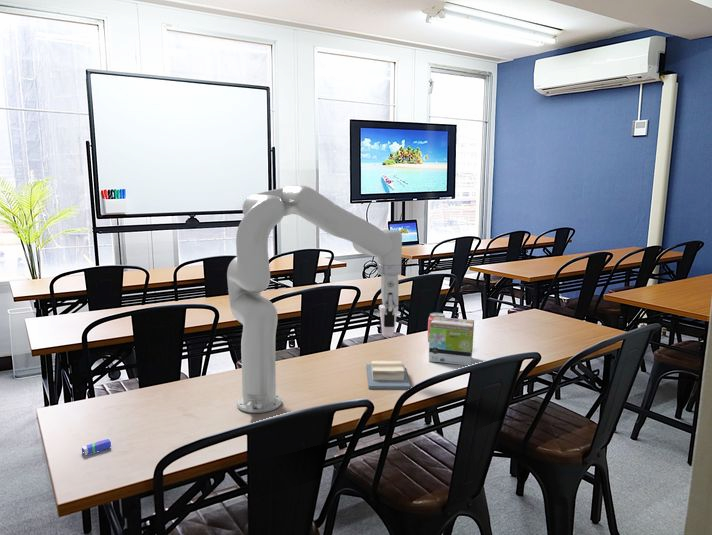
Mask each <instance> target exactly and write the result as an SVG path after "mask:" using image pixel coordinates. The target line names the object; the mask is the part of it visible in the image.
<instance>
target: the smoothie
mask: <svg viewBox="0 0 712 535" xmlns="http://www.w3.org/2000/svg"><path fill="white" fill-rule="evenodd" d="M386 305H388V304H386ZM387 308H388V307H387ZM378 310H379V316H380V326H381V334H382V336H383V337H388V338H389V337H394V336H395V329H396V324H397V323H396V322H397V315H398V310H399V305H398V306H396V305H395V304H394V327H384V314H385V306H384V305H383V303H381V304H380V305H378Z"/></svg>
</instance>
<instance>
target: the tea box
mask: <svg viewBox="0 0 712 535" xmlns="http://www.w3.org/2000/svg"><path fill="white" fill-rule="evenodd" d="M474 331H475V320H473V319H465V318H464V319H463V318H455V317H454V318H452V317H445V318H444V317H434V318H433V320H432V322H431V324H430V341H429V342H428V344H429V345H428V362H429V363H430V362H435V363H441V364H442V363H443V364H450V365H459V366H466V365H470V366H471V363H472V358H473V345H474V334H475V333H474ZM466 367H467V366H466Z"/></svg>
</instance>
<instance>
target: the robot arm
mask: <svg viewBox="0 0 712 535" xmlns="http://www.w3.org/2000/svg"><path fill="white" fill-rule="evenodd" d="M242 213H243V217H242V219H241V221H240V223H239V225H238V227H237V230H236V234H235V235H236V236H235V245H236V246H235V247H236V250H235V251H236V256H235V257H234V258H233V259H232V260H231V261H230V263H229V264H228V267H227V272H226V279H227V281H226V282H227V288H228V289H227V292H228V299H229V300H228V301H229V308H230V311H231V314H232V316H233V317H234V318H235V320H236V321H238V322H239V323H240V324H241V325H242V333H241V334H242V335H241V341H240V347H241V348H240V350H241V351H240V353H241V355H240V356H241V390H242V392H241V393H242V396H240V397H239V398H238V399H237V401H236V406H237V408H238V409H239V410H240V411H242V412H245V413H251V414H261V413H268V412H271V411H274V410H276V409H278V408H279V407H281V405H282V397H281V396H280V395H278V394H277V386H276V384H277V383H276V382H277V379H276V378H277V377H276V376H277V374H276V372H277V371H276V370H277V369H276V367H277V366H276V365H277V364H276V363H277V362H276V334H277V326H278V318H279V317H278V311H277V308H276V306H275V304H273V302H272V301H270V300H269V299H268V298H266V297H265V296H262V295H261V293H262V292H263V291H266V290H267V288H268V287H269V285H270V283H271V271H270V261H269V258H270V257H269V250H268V249H269V244H268V243H269V236H270V234H271V232H272V230H273V229H274V228H275V227H276V226H277V224H279V223H280V222H281V221H282V220H283V218H284V217H286V216H290V215H297V216H299V217H301V218H303V219H305V220H306V221H308V222H310V223H311V224H313V225H314V226H316V227H317V228H319V229H321V230H322V231H324V232H325V233H327V234H329V235H332V236H334V237H336V238H340V239H343V240H346V241H349V242H351V243H352V246H353V248H354V250H355V251H357V252H358V253H359V254H362V255H366V256H371V257H375V258H377V275H381V276H380V277H381V278H380V282H381V283H380V291H381V292H380V294H381V302H382V304H383V305H384V306H385V314H384V327H394V305H396V306H398V307H399V276H400V275H402V253H403V252H402V250H403V249H402V248H403V234H402V232H401V231H399V230H393V229H391V230H389V229H386V230H381V229H380V228H379V227H377V226H376V225H374V224H372V223H370V222H369V221H367V220H366V219H363V218H361V217H359V216H358V215H356V214H355V213H352V212H350V211H349V210H346V209H345V208H344V207H343V208H342V207H341V206H340V205H338V204H337V203H335V202H334V201H332V200H330V199H329V198H327V197H325V195H322V193H320V192H318V191H317V190H315V189H313V188H312V187H310V186H307V185H293V184H292V185H287V186H284V187H280V188H275V189H271V190H267V191H262V192H258V193H253V194H251V195H250V196H248V197H247V198H246V199H245V200H244V201H243V205H242ZM386 304H388V305H386ZM387 307H388V308H387Z"/></svg>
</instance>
